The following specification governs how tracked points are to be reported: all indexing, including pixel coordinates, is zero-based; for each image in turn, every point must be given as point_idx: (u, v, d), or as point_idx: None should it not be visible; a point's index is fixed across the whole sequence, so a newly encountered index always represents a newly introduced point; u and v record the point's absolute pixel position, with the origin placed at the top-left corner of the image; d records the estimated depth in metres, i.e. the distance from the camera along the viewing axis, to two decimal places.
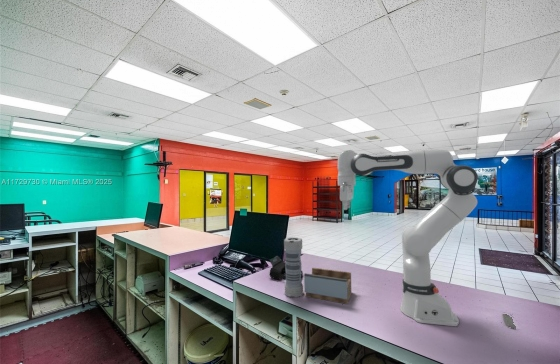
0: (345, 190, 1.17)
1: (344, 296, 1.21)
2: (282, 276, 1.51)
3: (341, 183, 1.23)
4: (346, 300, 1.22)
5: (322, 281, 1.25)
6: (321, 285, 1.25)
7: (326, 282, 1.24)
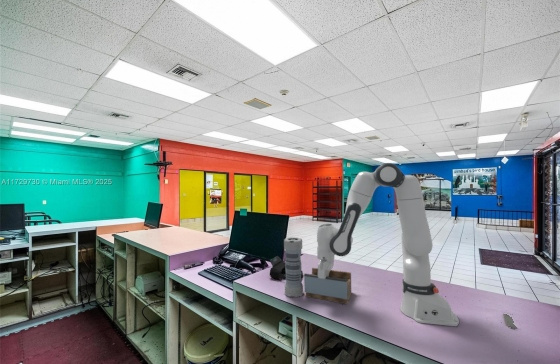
0: (323, 268, 1.18)
1: (344, 296, 1.21)
2: (282, 276, 1.51)
3: (320, 257, 1.25)
4: (346, 300, 1.22)
5: (322, 281, 1.25)
6: (321, 285, 1.25)
7: (326, 282, 1.24)
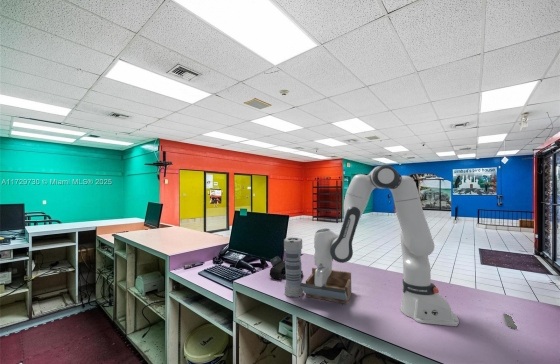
0: (320, 276, 1.14)
1: (344, 299, 1.20)
2: (282, 276, 1.51)
3: (317, 264, 1.20)
4: None
5: (320, 290, 1.21)
6: (320, 292, 1.22)
7: (324, 291, 1.20)
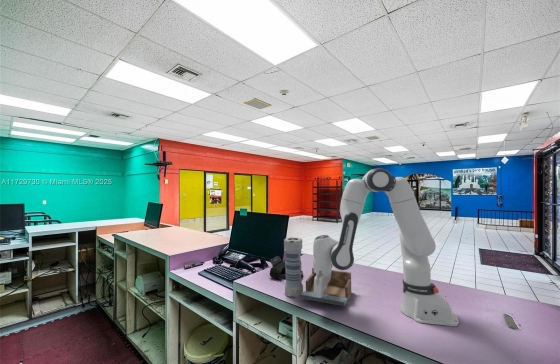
0: (319, 284, 1.12)
1: None
2: (282, 276, 1.51)
3: (316, 271, 1.18)
4: None
5: None
6: None
7: None
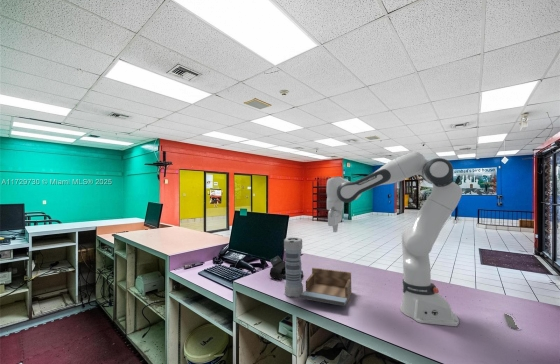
0: (333, 216, 1.23)
1: None
2: (282, 276, 1.51)
3: (329, 208, 1.29)
4: None
5: None
6: None
7: None
